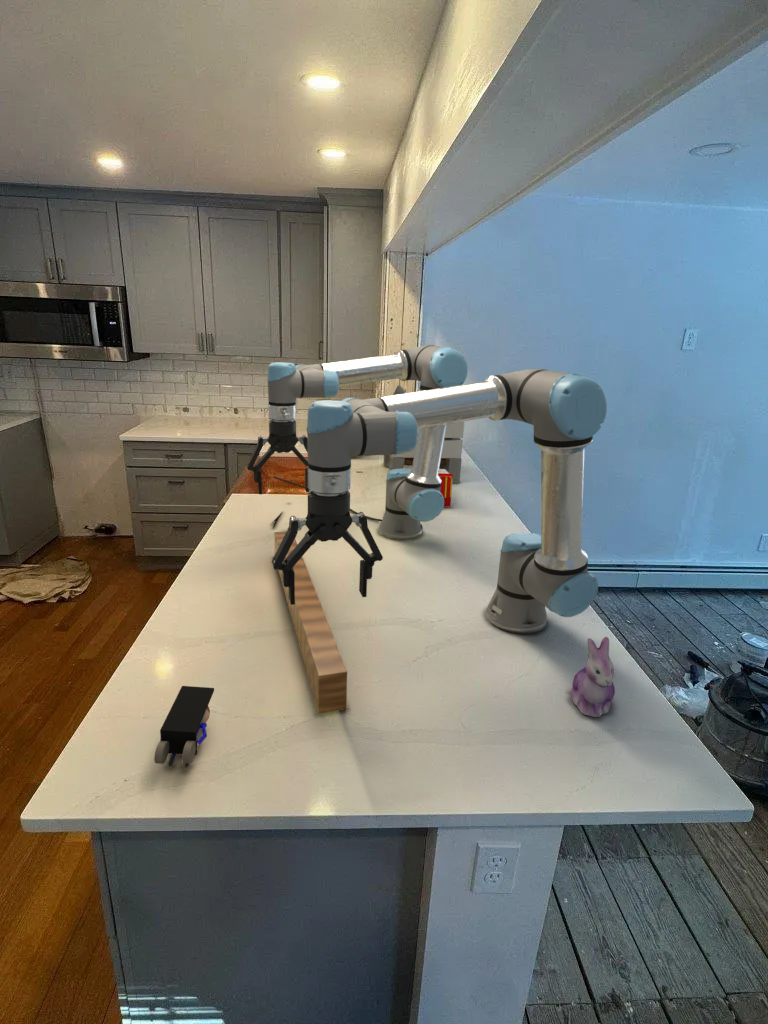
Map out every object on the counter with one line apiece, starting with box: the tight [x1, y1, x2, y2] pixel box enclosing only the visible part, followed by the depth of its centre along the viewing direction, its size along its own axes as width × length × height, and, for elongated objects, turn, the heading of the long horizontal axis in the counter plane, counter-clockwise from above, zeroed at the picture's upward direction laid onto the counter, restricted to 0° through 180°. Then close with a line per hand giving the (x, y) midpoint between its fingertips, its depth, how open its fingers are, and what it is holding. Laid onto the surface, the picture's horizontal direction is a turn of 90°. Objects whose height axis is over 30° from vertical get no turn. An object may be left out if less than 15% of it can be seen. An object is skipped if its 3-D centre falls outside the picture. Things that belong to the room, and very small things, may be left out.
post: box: [273, 530, 348, 714], centre depth 143 cm, size 74×6×9 cm, turn 17°
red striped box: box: [438, 469, 453, 508], centre depth 240 cm, size 12×13×30 cm
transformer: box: [383, 384, 465, 484], centre depth 268 cm, size 34×33×41 cm
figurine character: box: [153, 685, 215, 768], centre depth 100 cm, size 7×8×15 cm
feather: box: [270, 512, 283, 529], centre depth 212 cm, size 2×28×2 cm
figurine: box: [570, 636, 616, 718], centre depth 114 cm, size 9×10×15 cm
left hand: (283, 491), depth 166 cm, fingers open, 13 cm apart
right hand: (327, 597), depth 107 cm, fingers open, 13 cm apart
